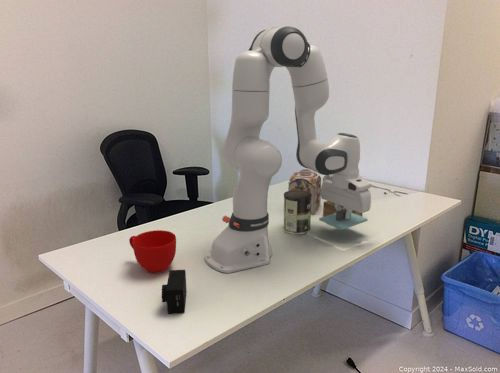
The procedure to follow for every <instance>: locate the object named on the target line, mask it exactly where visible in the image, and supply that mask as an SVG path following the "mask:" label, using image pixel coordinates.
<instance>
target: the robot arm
mask: <svg viewBox="0 0 500 373" xmlns="http://www.w3.org/2000/svg"><path fill="white" fill-rule="evenodd" d="M283 67H285V68H286V69H287V71H288V73H289V76H290V81H291V88H292V92H293V97H294V98H293V99H294V116H295V123H296V133H297V134H296V135H297V146H296V157H295V158H296V160H297V162H298V164H299V165H300V166H301V167H303V168H304V169H310V170H311V171H312V172H314V173H316V174H318V175H323V177H322V182H321V200H324V201H330V202H332V203H335V208H336V210H337V211H340V210H342V209H341V206H344V207H346V210H347V212H346V213H344V214H343V218H345V219H349V218H350V213H351V212H352V211H353V210H355V211H358V212H360V213H363V214H364V213H367V212H369V211H370V209H371V205H372V204H371V203H372V196H371V194H372V193H371V191H370V190H369V189H371V186H372V184H371V182H369V181H368V180H367V179H365V177H363V176H362V175H360V170H359V163H360V160H361V143H360V139H359V137H358V136H356V135H355V134H354V135H353V134H351V133H347V132H346V133H344V132H339V133H336V135H335V136H334V137H333V138H332V139H330V140H329V141H328V142H325V143H322V142H320V141H319V140H318V137H317V132H316V123H315V115H316V112H317V111H319V110H320V109H322V108H323V107H324V106H325V105H326V103H327V101H328V100H329V97H330V84H329V80H328V72H327V68H326V65H325V62H324V59H323V56H322V53H321V51H320V49H319V48H318V46H316V45H312V44H310V43H309V42H308V40H307V38H306V35H305V34H304V33H303V32H302V31H301V30H300V29H298V28H296V27H295V26H294V27H293V26H289V25H288V26H287V25H286V26H274V27H271V28H268V29H263V30H261V31H259V32H258V33H257V34H256V35H255V36H254V38H253V40H252V42H251V44H250V46H249V49H248V50H246V51H243V52H241V53H239V54H238V55H237V56H236V58H235V62H234V68H233V74H232V84H231V85H232V86H231V87H232V88H231V89H232V90H231V116H230V124H229V127H228V131H227V135H226V137H225V138H224V139H223V141H222V142H221V145H220V154H221V156H222V158H223V159H224V161H225V162H226V163H227V164H228V165H230V166H231V167H234V168H235V169H237V170H238V171H239V179H238V182H237V185H236V186H234V188H233V190H232V213H231V215H230V217H229V216H227V215H223V216H222V218H221V219H222V222H224V223H226V224H228V226H226V227H225V229H223V230H222V231H221V232H220V233H219V235H217V236H216V237H215V238H214V239H213V241H212V244H211V249H210V250H211V251H209V252H207V253H205V254H204V261H205V263H206V264H207V265H208V266H210V267H211V268H212V269H214V270H215V271H218V272H221V273H225V274H229V273H230V274H231V273H235V272H239V271H244V270H247V269H251V268H252V269H253V268H255V267H259V266H265V265H269V264H270V262H271V261H270V260H271V257H272V255H273V252H272V248H271V244H270V238H269V230H268V226H269V223H270V220H269V219H270V216H269V214H270V213H269V212H268V196H269V195H268V193H269V187H270V185H271V181H272V179H273V176H275V175H276V174H277V173H279V171H280V169H281V167H282V165H283V164H282V162H283V157H282V153H281V151H280V150H279V148H277V147H276V146H275V145H273V144H272V143H271V142H269V141H267V140H263V139H260V135H261V130H262V127H263V125H264V123H265V122H266V121H267V120H268V119H269V115H270V111H269V110H270V95H271V94H270V87H271V85H270V84H271V82H270V79H271V76H272V72H273V70H274V68H283ZM331 174H333V175H332V176H330V175H331Z"/></svg>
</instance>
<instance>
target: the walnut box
mask: <svg viewBox="0 0 500 373" xmlns="http://www.w3.org/2000/svg"><path fill="white" fill-rule="evenodd" d="M341 209H342V210H343V209H346V207H344V206H341ZM322 210H323V211H322V217H324V216H327V215H330V214H333V213H336V212H337V210H336V208H335V203H332V202H330V201H327V200H324V201H323V208H322ZM351 213H354V214H356V215H359V216H362V217H363V214H364V213H360V212H358V211H355V210H353V211H352V212H351Z"/></svg>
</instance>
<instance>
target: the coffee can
mask: <svg viewBox="0 0 500 373" xmlns="http://www.w3.org/2000/svg"><path fill="white" fill-rule="evenodd" d="M283 197H284V199H283V229H282V230H283V231H284V232H286V233H287V234H291V235H305V234H308V231H310V230H311V218H312V215H311V197H312V194H311V193H310V192H307V191H303V190H291V191H288V190H287V191H285V192H284V193H283Z"/></svg>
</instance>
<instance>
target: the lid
mask: <svg viewBox="0 0 500 373" xmlns="http://www.w3.org/2000/svg"><path fill="white" fill-rule="evenodd" d="M346 212H347V210H346V209H343V210H340V211H337V212H336V213H333V214H330V215H327V216H324V217H323V216H322V217H319V218H318V220H319V221H320V222H323V223H324V224H327V225H328V226H331V227H333V228H336V229H338V230H341V231H343V230H346V229H348V228H352V227H355V226H356V225H360V224H362V223H365V222H368V220H369V218H367V217H364V216H363V215H362V216H359V215H356V214H354V213H350V218H349V219H345V218H343V214H344V213H346Z"/></svg>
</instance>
